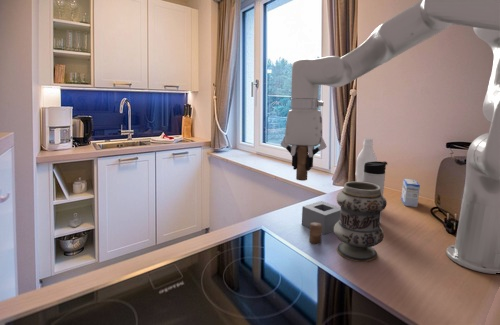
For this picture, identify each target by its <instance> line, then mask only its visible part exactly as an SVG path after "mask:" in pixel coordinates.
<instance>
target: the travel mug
mask: <svg viewBox="0 0 500 325" xmlns="http://www.w3.org/2000/svg"><path fill="white" fill-rule="evenodd" d="M387 166H388V162H387V161H378V160H377V161H376V162H367V163H365V165H364V174H363V182H367V183H372V184H376V185H378V186H379V187H380V192H381V195H382V196H383V197H384V189H385V188H384V187H385V180H386V168H387ZM381 218H382V211H380V221H381V220H382V219H381Z"/></svg>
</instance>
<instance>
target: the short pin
mask: <svg viewBox="0 0 500 325" xmlns="http://www.w3.org/2000/svg"><path fill="white" fill-rule="evenodd" d="M308 242H309V244H312V245H320V244H322V225H321V224H320V223H311V224H310V228H309V239H308Z"/></svg>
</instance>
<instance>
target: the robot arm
mask: <svg viewBox="0 0 500 325" xmlns="http://www.w3.org/2000/svg"><path fill="white" fill-rule="evenodd" d="M453 25H456V26H461V27H468V28H473V32H474V33H475V35H476V37H478V38H479V39H480V40H482V41H483V42H485V43H486V44H487V45H488V46H489V47H490V49H491V51H492V53H493V54H492V55H493V60H492V61H493V62H492V68H491V73H490V77H489V82H488V86H487V90H486V93H485V97H484V100H483V105H482V114H483V116H484V118H485V119H486V120H487V121H488V122H490V126H489V132H486V133H483V134H481V135H479V136H478V137H476V138H475V139H474V140H472V142H471V143H470V145H469V147H468V150H467V153H466V162H465V163H466V167H465V182H464V187H463V195H462V200H461V206H460V213H459V219H458V224H457V231H456V238H455V243H454V244H451V245H449V246H448V247H447V248H446V256H447V257H449V259H450V260H451V261H453V262H455V263H456V264H458V265H459V266H462V267H463V268H467V269H469V270H472V271H476V272H480V273H483V274H489V275H497V274H496V273H498V272H500V0H420V1H418V2H415V4H413V5H411V6H410V7H408V8H406V9H404V10H403V11H401V12H400V13H397V14H396V15H394V16H393V17H392V18H390V19H388V20H386V21H385V22H382V23H381V24H380V25H378V26H377V27H376V28H375V29H374V30H373V31H372V33H371V34H370V35H369V36H368V38H367V39H366V40H365V41H363V43H361V44H360V45H359V46H357V47H356V48H354V49H353V50H351V51H349V52H348V53H346V54H345V55H343V56H341V57H340V56H338V55H329V56H324V57H319V58H301V59H300V58H299V59H295V60H294V61H293V63H292V66H291V92H290V93H291V94H290V110H288V112H287V117H286V122H285V130H284V132H285V133H284V137H283V139H282V141H281V143H280V146H281V147H283V148H284V149H286V150H287V152H288V153H289V154H290V155H291V166H292V169H293V170H297V146H308V157H307V162H306V170H307V171H308V172H310V171H311V169H312V168H313V166H314V156H316V154H318V152H320V151H322V150H325V149H326V148H327V144H326V142H325V139H324V138H323V118H322V116H323V115H322V110H319V108H321V107H324V101H322V100H320V99H319V97H320V96H319V94H320V89H319V88H320V86H327V87H331V88H340V87H343V86H345V85H348V84H350V83H352V82H353V81H355V80H356V79H358V78H360V77H362V76H364V75H365V74H367V73H370V72H371V71H373V70H374V69H376V68H378V67H380V66H382V65H384V64H386V63H388V62H389V61H392V60H393V59H394V58H396V57H398V56H399V55H402V54H403V53H405V52H407V51H409V50H410V49H412V48H414V47H416V46H418V45H419V44H421V43H422V42H424V41H426V40H430V38H433V37H434V36H436V35H438V34H440V33H442V32H444V31H445V30H447V29H448V28H450V27H452V26H453Z"/></svg>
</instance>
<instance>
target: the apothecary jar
mask: <svg viewBox="0 0 500 325" xmlns="http://www.w3.org/2000/svg"><path fill="white" fill-rule="evenodd" d="M335 199H336V203H337V204H338V205H339V207H341V211H340V220H339V221H338V222H337V223H336V224H335V226H334V231H333V233H334V234H335V236H336V238H337V239H339V241H341V243H340V244H338V246H337V248H336V251H337V253H338V254H339V256H341V257H343V258H345V259H347V260H350V261H354V262H360V263H362V262H363V263H364V262H365V263H366V262H371V261H374V260H376V258H377V257H378V251H377V250H376V249H375V248H374V247H375V246H377V245H379V244H380V243H382V242H383V241H384V237H385V232H384V230H383V229H382V227H381V226H380V224H381V220H380V211H381V212H382V211H384V210H385V209H386V207H387V205H388V204H387V200H386V198H385V197H384V195H383V196H382V195H381V192H380V187H379V186H378V185H376V184H372V183H367V182H357V181H347V182H345V183H344V184H343V188H342V190H340V191H339V192H338V193H337V195H336V198H335Z"/></svg>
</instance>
